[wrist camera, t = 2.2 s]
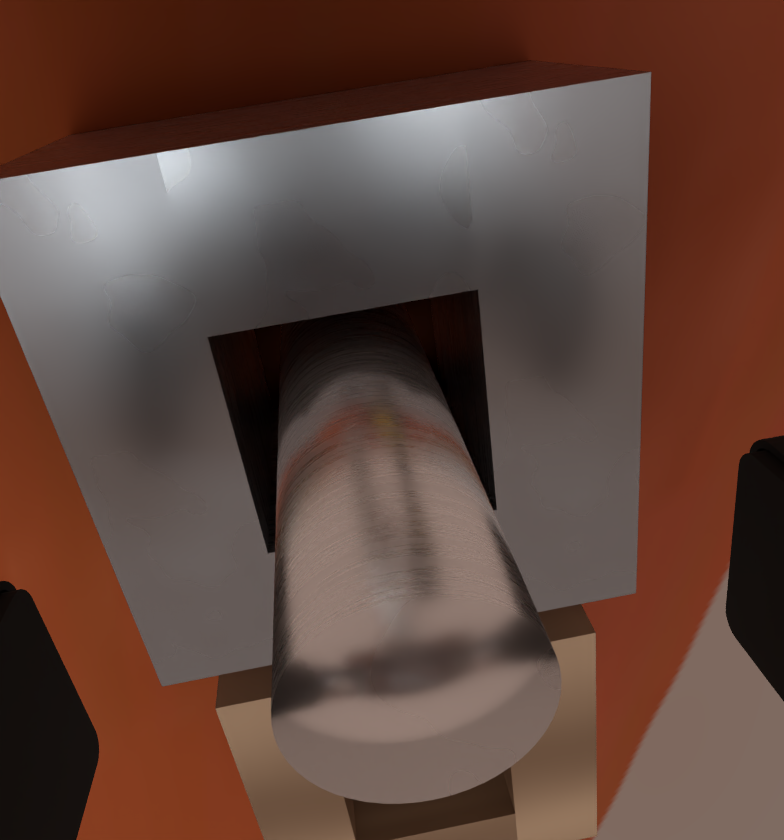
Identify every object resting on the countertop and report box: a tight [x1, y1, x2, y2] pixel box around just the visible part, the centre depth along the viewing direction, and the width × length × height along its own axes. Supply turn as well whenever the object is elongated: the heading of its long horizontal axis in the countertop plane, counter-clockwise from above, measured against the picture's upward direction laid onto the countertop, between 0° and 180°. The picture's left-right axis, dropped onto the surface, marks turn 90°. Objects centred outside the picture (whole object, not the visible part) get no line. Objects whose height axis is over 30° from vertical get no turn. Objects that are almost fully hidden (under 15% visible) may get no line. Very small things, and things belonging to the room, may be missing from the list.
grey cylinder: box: [271, 303, 562, 804], centre depth 13 cm, size 3×3×12 cm
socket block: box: [0, 60, 651, 686], centre depth 15 cm, size 10×10×6 cm
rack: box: [215, 604, 597, 840], centre depth 21 cm, size 8×9×5 cm
